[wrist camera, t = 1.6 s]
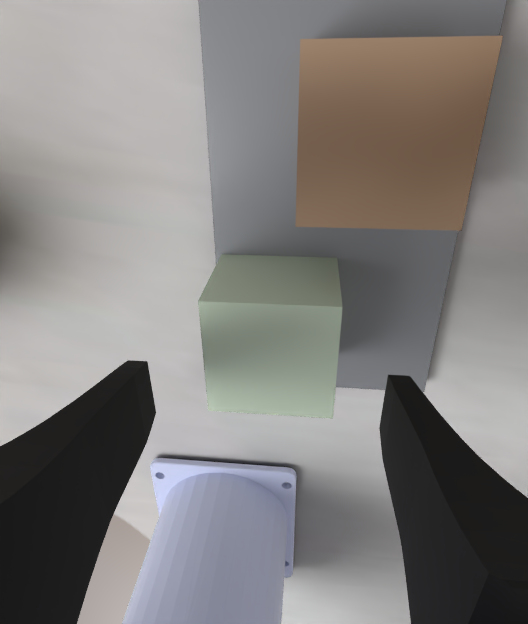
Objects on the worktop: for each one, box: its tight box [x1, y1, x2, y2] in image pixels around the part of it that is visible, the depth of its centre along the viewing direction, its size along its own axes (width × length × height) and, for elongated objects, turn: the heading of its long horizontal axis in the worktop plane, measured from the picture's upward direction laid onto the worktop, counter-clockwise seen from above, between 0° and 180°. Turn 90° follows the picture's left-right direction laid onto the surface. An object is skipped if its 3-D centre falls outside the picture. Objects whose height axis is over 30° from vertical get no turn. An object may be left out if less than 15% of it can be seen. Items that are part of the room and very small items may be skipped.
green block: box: [198, 254, 343, 419], centre depth 17 cm, size 4×4×4 cm
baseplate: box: [198, 0, 507, 392], centre depth 17 cm, size 16×9×1 cm, turn 1°
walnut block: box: [295, 36, 503, 231], centre depth 13 cm, size 4×4×4 cm
